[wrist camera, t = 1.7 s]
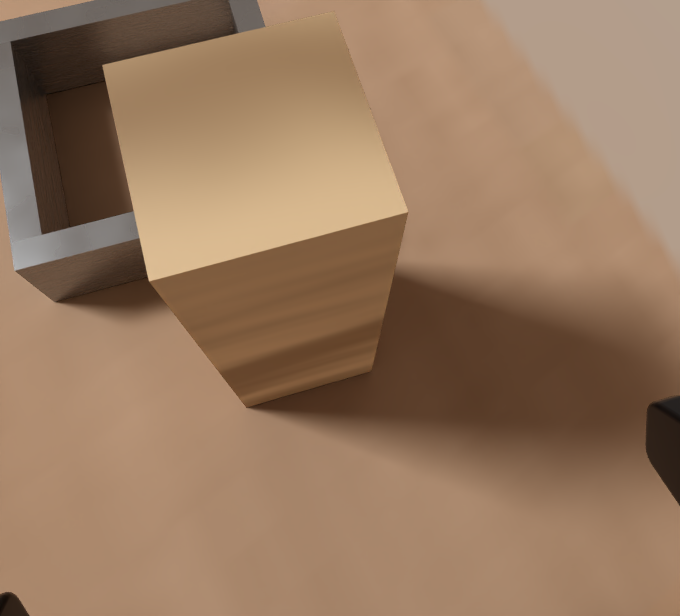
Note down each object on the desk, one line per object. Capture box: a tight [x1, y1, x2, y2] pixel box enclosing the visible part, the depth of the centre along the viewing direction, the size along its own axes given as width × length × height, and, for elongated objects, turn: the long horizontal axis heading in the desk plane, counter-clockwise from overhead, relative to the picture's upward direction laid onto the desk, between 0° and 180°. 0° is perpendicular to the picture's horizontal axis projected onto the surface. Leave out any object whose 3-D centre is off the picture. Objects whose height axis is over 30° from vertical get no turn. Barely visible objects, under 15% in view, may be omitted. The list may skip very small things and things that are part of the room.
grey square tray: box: [0, 0, 265, 302], centre depth 24 cm, size 10×10×3 cm
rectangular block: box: [102, 11, 408, 408], centre depth 17 cm, size 4×4×12 cm
